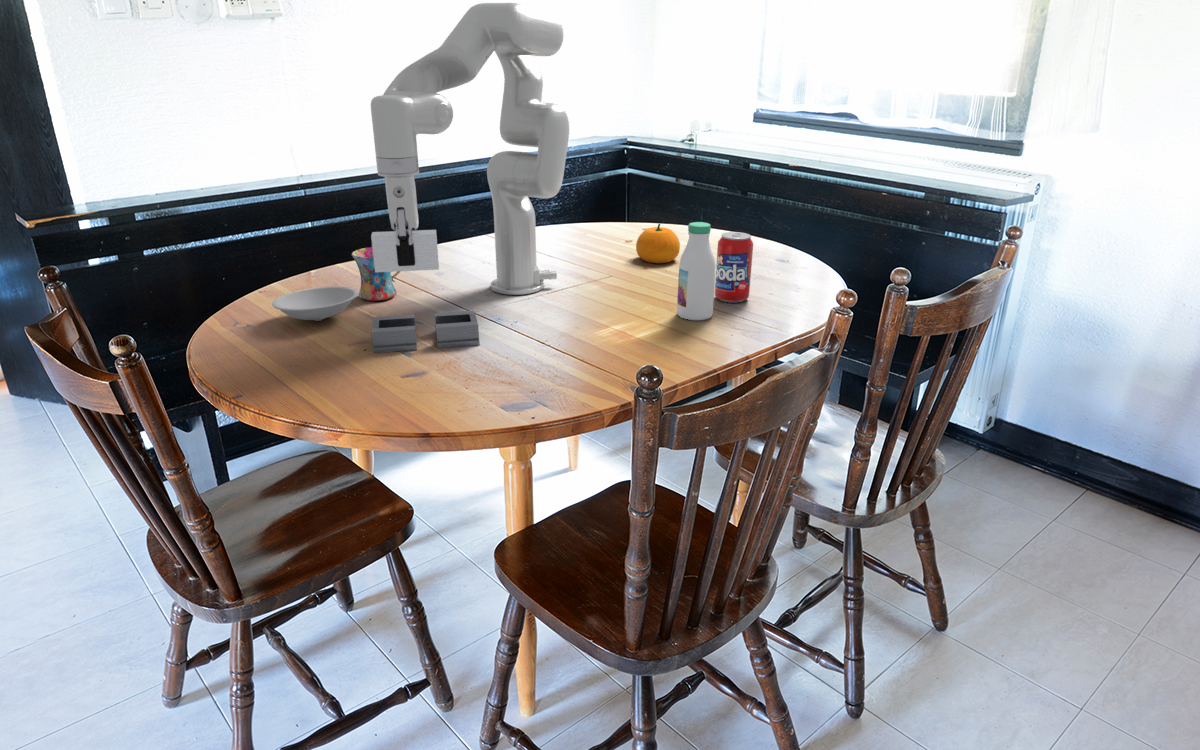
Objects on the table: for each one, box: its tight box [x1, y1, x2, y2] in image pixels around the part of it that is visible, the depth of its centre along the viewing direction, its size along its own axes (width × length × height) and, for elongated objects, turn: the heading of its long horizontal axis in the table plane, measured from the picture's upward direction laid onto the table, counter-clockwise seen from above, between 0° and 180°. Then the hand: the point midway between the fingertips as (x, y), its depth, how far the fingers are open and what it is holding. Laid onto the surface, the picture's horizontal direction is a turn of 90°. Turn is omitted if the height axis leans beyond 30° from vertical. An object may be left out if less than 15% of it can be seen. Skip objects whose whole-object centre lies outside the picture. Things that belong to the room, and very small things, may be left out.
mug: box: [351, 246, 402, 301], centre depth 181 cm, size 12×9×11 cm
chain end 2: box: [434, 310, 481, 349], centre depth 158 cm, size 8×10×4 cm
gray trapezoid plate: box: [370, 229, 440, 273], centre depth 153 cm, size 12×4×7 cm, turn 101°
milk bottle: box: [676, 221, 716, 321], centre depth 168 cm, size 8×8×20 cm
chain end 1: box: [371, 314, 418, 354], centre depth 155 cm, size 8×10×4 cm
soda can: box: [714, 231, 754, 304], centre depth 179 cm, size 8×8×15 cm
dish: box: [271, 285, 359, 322], centre depth 167 cm, size 18×14×5 cm
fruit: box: [635, 223, 681, 264], centre depth 211 cm, size 12×12×10 cm
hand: (406, 261), depth 154 cm, fingers closed on gray trapezoid plate, 3 cm apart
